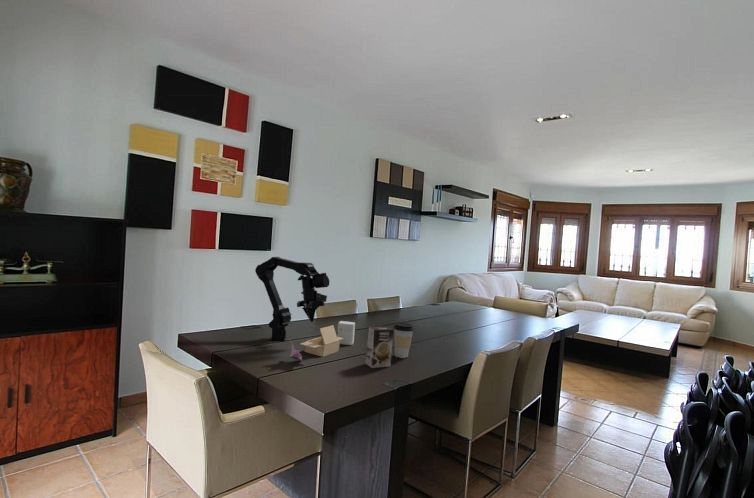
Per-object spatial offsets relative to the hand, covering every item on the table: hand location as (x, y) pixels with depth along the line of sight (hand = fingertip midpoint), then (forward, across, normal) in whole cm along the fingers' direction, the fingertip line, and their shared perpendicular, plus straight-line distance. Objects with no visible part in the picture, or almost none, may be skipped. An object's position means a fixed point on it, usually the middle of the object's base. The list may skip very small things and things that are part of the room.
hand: (311, 321), depth 189 cm
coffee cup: (+21, -24, -32) cm, 45 cm away
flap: (+6, -11, -3) cm, 13 cm away
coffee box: (+20, -31, -14) cm, 40 cm away
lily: (+14, -18, +18) cm, 29 cm away
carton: (+13, -7, 0) cm, 15 cm away
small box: (+14, +3, -18) cm, 23 cm away
